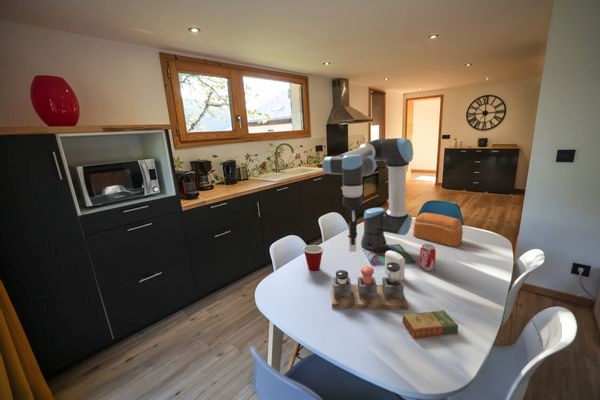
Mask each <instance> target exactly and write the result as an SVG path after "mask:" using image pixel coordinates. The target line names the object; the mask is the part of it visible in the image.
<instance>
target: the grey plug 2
mask: <svg viewBox="0 0 600 400" xmlns="http://www.w3.org/2000/svg"><path fill="white" fill-rule="evenodd" d="M387 269H388V274H387V277H388V285H398V271H399V270H400V265H399V264H397V263H393V262H391V263H388V264H387Z"/></svg>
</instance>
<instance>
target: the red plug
mask: <svg viewBox="0 0 600 400" xmlns="http://www.w3.org/2000/svg"><path fill="white" fill-rule="evenodd" d="M374 270H375V268H374V267H371V266H368V265H363V266H361V267H360V272H361V274H362V276H361V277H362V285H372V277H373V274H374V273H375V271H374Z"/></svg>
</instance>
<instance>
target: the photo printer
mask: <svg viewBox="0 0 600 400" xmlns="http://www.w3.org/2000/svg"><path fill="white" fill-rule="evenodd" d="M391 262H393V263H397V264H399V265H400V270H399V271H398V277H399V278H400V280H401V281H404V278H405V268H406V267H405V266H406V259H405V257H403V255H402V254H400V253H398V252H397V251H394V250H387V251H385V253H384V273H385V274H387V275H388V269H387V264H388V263H391Z"/></svg>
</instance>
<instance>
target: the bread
mask: <svg viewBox="0 0 600 400" xmlns="http://www.w3.org/2000/svg"><path fill="white" fill-rule="evenodd" d="M414 220H415V221H414V224H413V234H412V235H413V237H415V238H420V239H423V240H426V241H430V242H434V243H437V244H441V245H445V246H450V247H453V248H454V247H458V246H459V245H460V244H461V243H462V242H463V223H462V221H461V220H460V219H459V218H455V217H451V216H448V215H443V214H437V213H430V212H422V213H420V214H417V216H416V217H415V219H414Z"/></svg>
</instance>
